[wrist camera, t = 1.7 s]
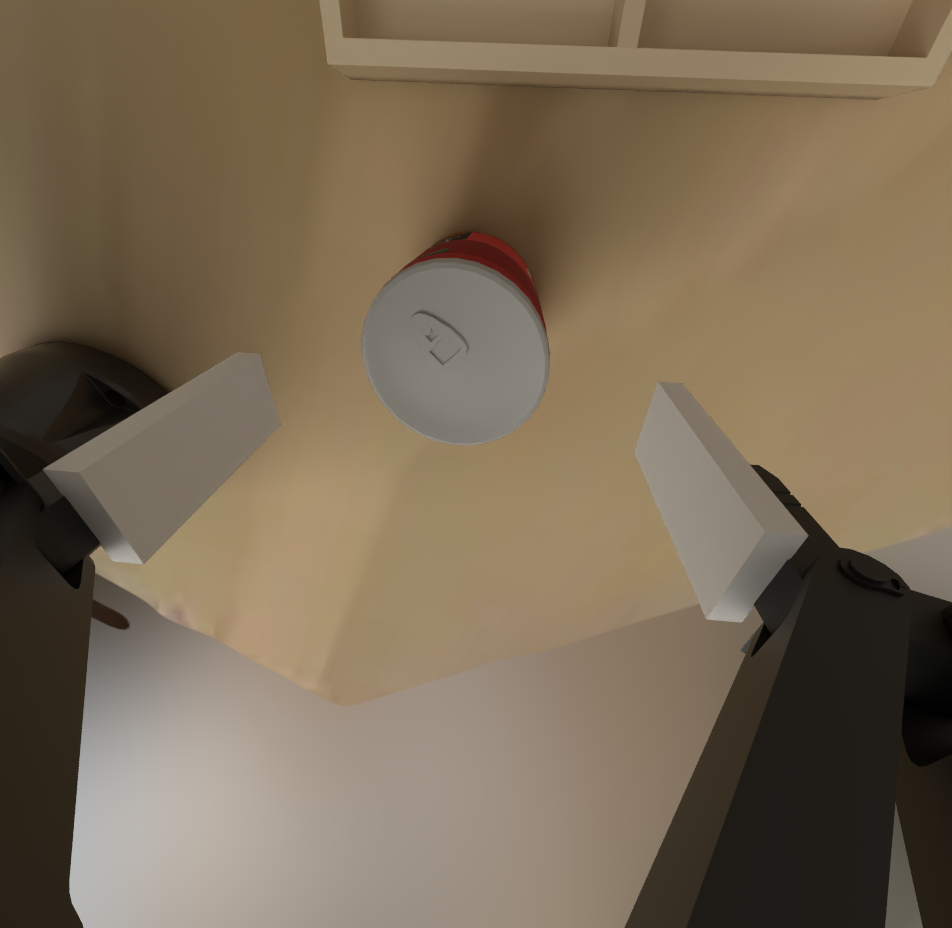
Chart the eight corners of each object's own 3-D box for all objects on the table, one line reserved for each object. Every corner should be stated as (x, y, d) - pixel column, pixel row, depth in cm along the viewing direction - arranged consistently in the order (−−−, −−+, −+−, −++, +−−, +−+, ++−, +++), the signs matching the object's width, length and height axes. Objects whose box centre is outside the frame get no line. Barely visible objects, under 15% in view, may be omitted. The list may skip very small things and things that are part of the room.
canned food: (451, 199, 22) (410, 210, 13) (563, 284, 24) (594, 344, 15) (393, 317, 26) (331, 388, 17) (493, 380, 28) (485, 473, 19)
